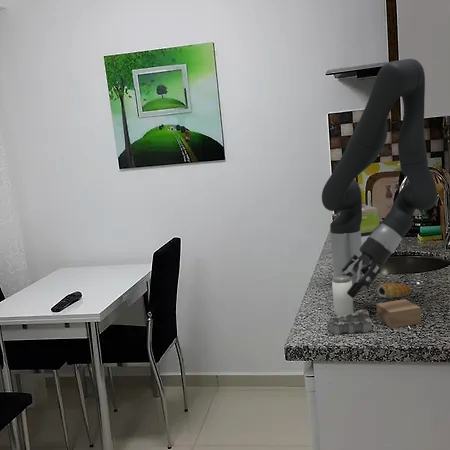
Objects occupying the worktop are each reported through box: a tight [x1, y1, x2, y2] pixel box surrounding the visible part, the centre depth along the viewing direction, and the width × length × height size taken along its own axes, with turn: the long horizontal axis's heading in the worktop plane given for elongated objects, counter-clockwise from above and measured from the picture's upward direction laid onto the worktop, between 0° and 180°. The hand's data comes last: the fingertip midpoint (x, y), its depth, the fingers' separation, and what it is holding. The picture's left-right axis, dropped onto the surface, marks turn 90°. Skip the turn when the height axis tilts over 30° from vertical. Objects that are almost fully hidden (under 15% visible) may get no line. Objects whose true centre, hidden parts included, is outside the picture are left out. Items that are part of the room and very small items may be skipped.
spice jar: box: [331, 275, 355, 316], centre depth 158 cm, size 5×5×10 cm
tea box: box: [360, 203, 380, 245], centre depth 248 cm, size 15×10×15 cm, turn 10°
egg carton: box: [326, 308, 373, 335], centre depth 146 cm, size 11×8×4 cm
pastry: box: [376, 282, 412, 300], centre depth 170 cm, size 9×7×4 cm
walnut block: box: [376, 298, 422, 329], centre depth 148 cm, size 8×8×4 cm
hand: (343, 291), depth 158 cm, fingers open, 8 cm apart
